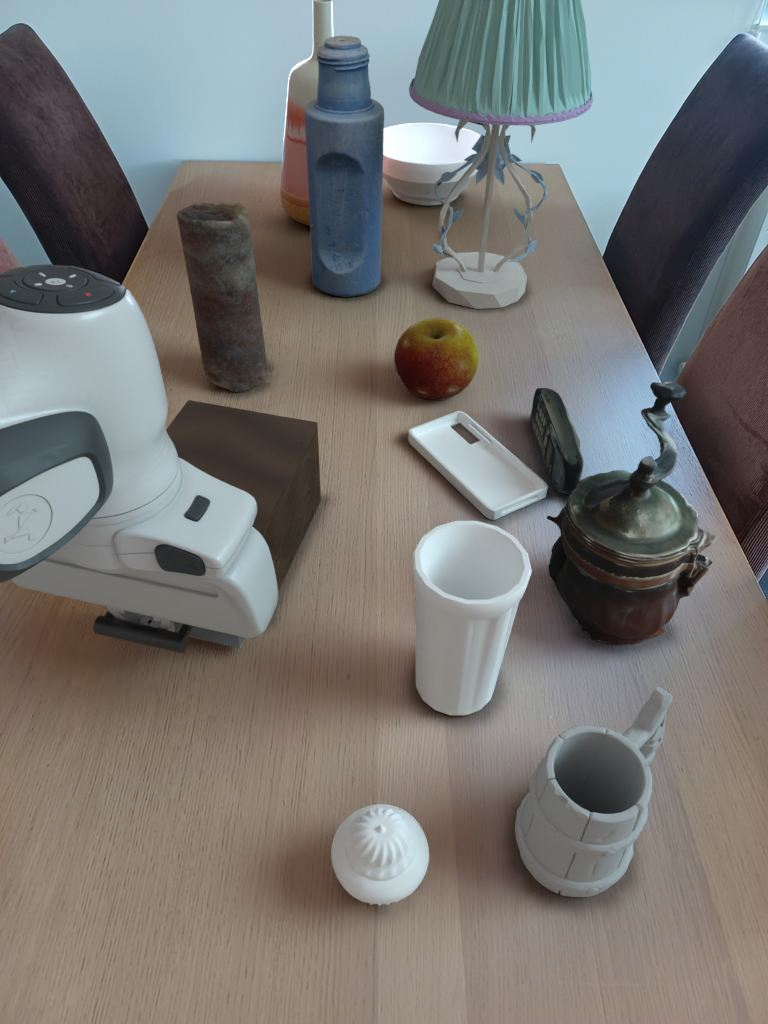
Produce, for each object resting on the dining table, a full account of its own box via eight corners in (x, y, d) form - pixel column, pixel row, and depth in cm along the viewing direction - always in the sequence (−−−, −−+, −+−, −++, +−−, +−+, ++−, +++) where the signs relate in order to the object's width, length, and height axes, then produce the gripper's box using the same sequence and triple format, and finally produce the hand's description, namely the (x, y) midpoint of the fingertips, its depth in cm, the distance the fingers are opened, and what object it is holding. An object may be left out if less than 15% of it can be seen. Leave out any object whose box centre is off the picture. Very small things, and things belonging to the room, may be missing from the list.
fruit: (379, 396, 92) (381, 335, 87) (411, 358, 98) (415, 299, 93) (457, 419, 89) (464, 357, 84) (485, 378, 95) (493, 318, 90)
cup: (502, 737, 60) (529, 615, 51) (395, 719, 61) (402, 596, 51) (508, 651, 66) (534, 527, 56) (411, 636, 67) (420, 511, 57)
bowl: (506, 194, 136) (513, 143, 131) (431, 228, 126) (434, 174, 120) (421, 163, 146) (423, 115, 140) (344, 192, 135) (343, 141, 130)
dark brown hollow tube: (190, 381, 94) (161, 212, 80) (227, 352, 98) (206, 188, 85) (244, 400, 91) (224, 229, 77) (280, 369, 96) (266, 202, 82)
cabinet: (265, 620, 68) (255, 540, 62) (129, 590, 70) (105, 509, 64) (321, 500, 79) (317, 422, 73) (202, 477, 81) (188, 399, 75)
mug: (488, 842, 54) (511, 748, 46) (592, 737, 60) (629, 638, 52) (580, 930, 50) (623, 844, 42) (681, 808, 57) (736, 713, 48)
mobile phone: (531, 384, 86) (567, 471, 75) (558, 383, 87) (598, 470, 75) (524, 422, 90) (558, 511, 78) (551, 421, 90) (588, 509, 79)
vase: (333, 191, 135) (328, -16, 115) (391, 219, 128) (397, 2, 108) (263, 214, 128) (245, -3, 108) (321, 245, 120) (313, 17, 100)
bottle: (386, 269, 115) (392, 31, 95) (373, 302, 108) (377, 53, 88) (321, 262, 116) (313, 25, 96) (304, 295, 109) (292, 46, 89)
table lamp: (542, 252, 120) (596, -76, 93) (570, 326, 105) (646, -43, 77) (397, 251, 120) (409, -81, 92) (404, 326, 104) (421, -48, 76)
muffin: (397, 944, 50) (401, 899, 45) (314, 894, 52) (309, 845, 47) (442, 858, 54) (450, 807, 49) (362, 814, 56) (363, 762, 51)
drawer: (216, 696, 61) (203, 632, 56) (81, 664, 63) (56, 599, 58) (298, 527, 75) (293, 463, 70) (184, 505, 77) (172, 440, 72)
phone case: (404, 439, 86) (490, 522, 77) (405, 429, 86) (492, 512, 76) (460, 418, 89) (548, 496, 80) (461, 408, 89) (551, 486, 79)
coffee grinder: (673, 546, 76) (734, 385, 63) (683, 673, 65) (758, 510, 53) (537, 524, 77) (570, 364, 65) (525, 645, 67) (562, 481, 54)
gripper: (-53, 507, 52) (10, 639, 62) (243, 568, 49) (262, 698, 58) (4, 448, 57) (54, 580, 66) (278, 501, 53) (290, 632, 63)
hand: (153, 636), depth 62 cm, fingers closed
